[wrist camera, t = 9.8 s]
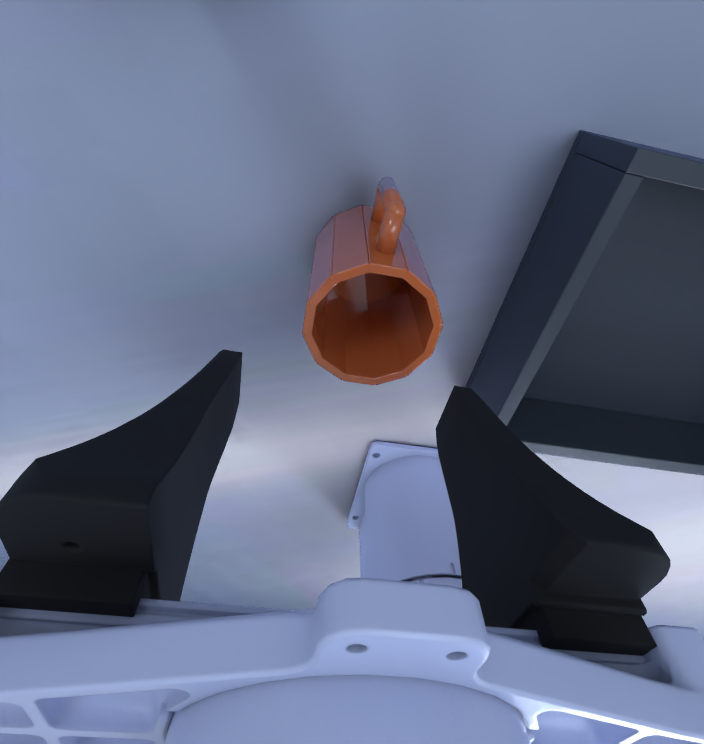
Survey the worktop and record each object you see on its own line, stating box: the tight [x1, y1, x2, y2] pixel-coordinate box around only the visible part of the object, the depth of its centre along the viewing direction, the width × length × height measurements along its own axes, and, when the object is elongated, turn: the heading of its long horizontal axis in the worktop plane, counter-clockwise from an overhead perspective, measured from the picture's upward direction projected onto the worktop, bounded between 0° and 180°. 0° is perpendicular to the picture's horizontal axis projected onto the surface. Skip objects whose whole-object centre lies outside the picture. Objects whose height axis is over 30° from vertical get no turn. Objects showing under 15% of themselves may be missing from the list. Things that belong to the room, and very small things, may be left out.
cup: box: [302, 177, 443, 385], centre depth 18 cm, size 7×5×7 cm
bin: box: [465, 130, 704, 475], centre depth 22 cm, size 15×19×4 cm
